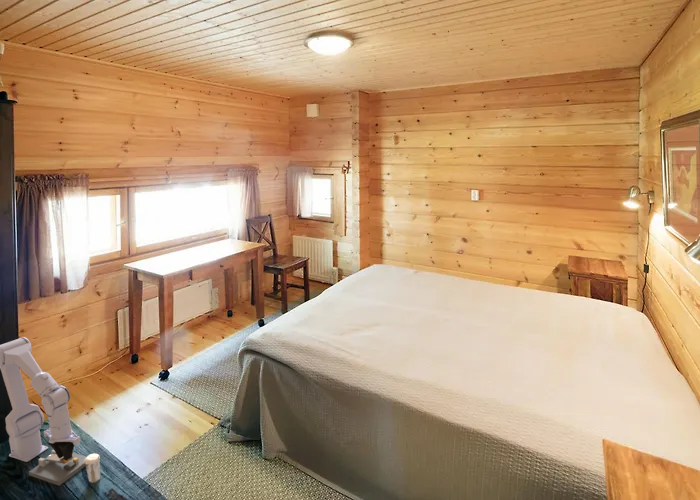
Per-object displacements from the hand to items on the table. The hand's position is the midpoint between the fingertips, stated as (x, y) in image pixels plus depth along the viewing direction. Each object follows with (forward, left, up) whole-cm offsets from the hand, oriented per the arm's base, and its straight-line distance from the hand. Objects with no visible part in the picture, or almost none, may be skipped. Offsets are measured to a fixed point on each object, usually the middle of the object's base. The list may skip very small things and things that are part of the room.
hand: (65, 457), depth 143 cm
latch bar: (-4, 0, -2) cm, 4 cm away
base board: (-3, 0, -5) cm, 6 cm away
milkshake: (+13, 0, -5) cm, 14 cm away
